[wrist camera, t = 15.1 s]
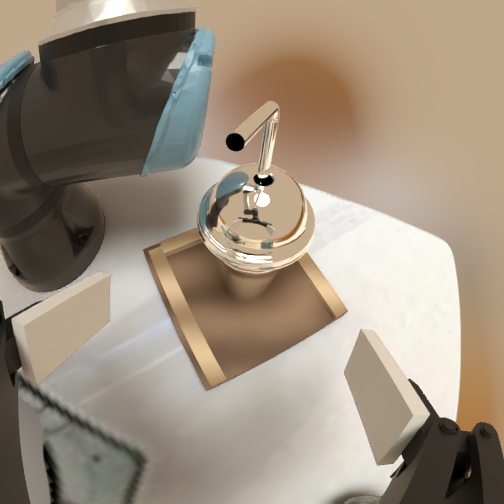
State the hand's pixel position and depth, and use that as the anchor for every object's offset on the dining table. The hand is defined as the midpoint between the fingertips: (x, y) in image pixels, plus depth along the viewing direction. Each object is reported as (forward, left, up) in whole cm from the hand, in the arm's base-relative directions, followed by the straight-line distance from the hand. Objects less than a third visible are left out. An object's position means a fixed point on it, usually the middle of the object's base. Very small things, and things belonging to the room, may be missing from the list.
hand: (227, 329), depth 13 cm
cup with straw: (-7, +6, -12) cm, 15 cm away
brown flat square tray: (-7, +6, -13) cm, 16 cm away
